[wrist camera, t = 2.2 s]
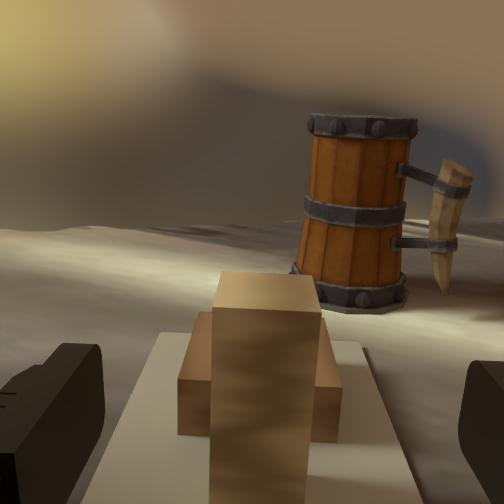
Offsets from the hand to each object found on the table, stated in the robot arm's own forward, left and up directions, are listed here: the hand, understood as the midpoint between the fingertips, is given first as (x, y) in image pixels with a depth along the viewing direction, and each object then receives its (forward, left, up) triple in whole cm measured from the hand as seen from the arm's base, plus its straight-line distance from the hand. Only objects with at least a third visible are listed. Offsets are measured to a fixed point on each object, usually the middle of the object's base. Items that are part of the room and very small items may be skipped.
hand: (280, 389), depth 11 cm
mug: (+12, +43, -15) cm, 47 cm away
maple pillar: (0, +11, -14) cm, 18 cm away
